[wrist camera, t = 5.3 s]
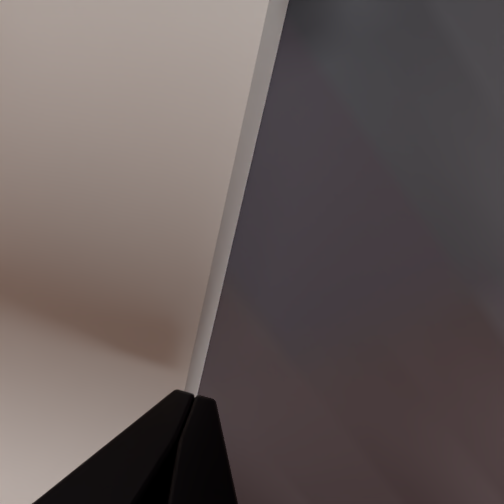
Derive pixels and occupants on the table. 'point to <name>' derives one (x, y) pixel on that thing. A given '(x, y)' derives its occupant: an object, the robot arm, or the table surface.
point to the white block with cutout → (116, 210)
